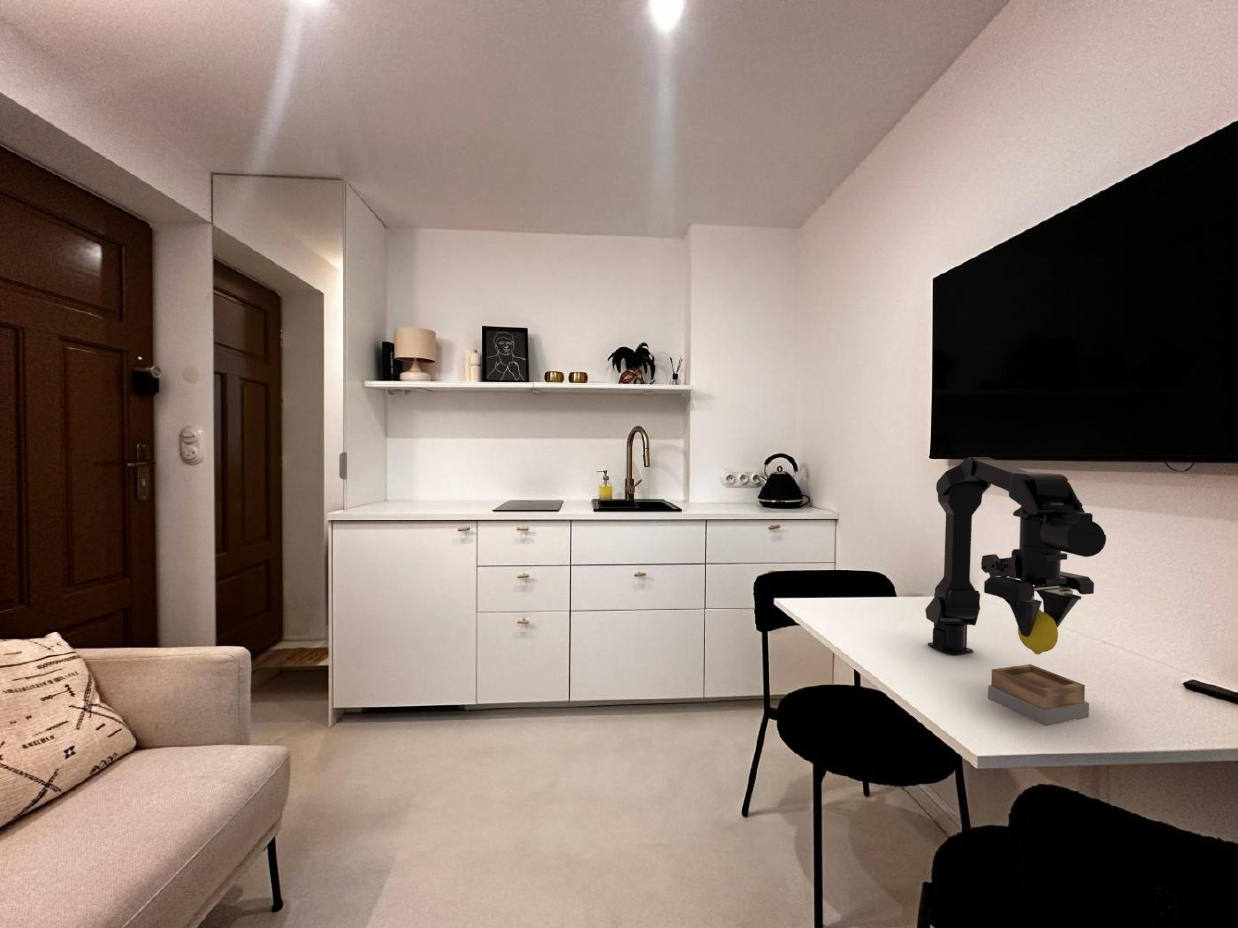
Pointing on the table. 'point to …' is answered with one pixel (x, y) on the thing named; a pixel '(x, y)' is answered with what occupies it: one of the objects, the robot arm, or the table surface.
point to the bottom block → (1037, 713)
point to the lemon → (1041, 634)
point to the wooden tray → (1038, 686)
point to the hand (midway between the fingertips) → (1037, 634)
